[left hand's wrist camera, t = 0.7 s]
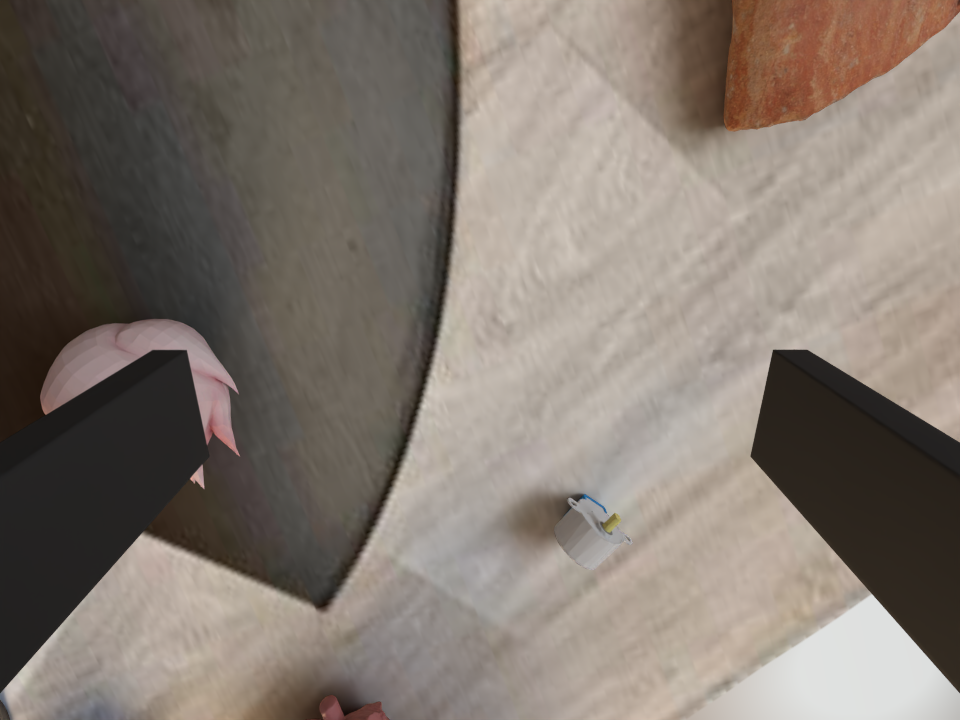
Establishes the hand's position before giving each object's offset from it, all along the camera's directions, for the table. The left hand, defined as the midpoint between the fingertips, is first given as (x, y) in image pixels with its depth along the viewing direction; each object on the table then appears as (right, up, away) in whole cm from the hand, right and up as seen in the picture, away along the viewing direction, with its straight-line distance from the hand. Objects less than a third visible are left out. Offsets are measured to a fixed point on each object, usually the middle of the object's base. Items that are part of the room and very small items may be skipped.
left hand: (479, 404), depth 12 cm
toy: (-23, -1, +30) cm, 38 cm away
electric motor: (+9, -12, +34) cm, 37 cm away
